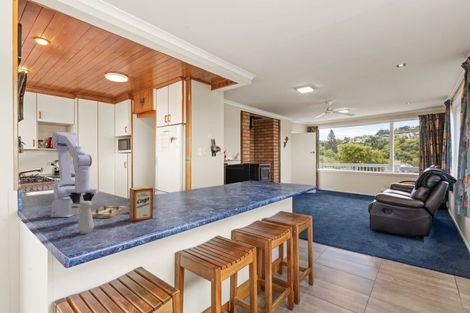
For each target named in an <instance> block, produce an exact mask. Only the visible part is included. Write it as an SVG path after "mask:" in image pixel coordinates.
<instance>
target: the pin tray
mask: <svg viewBox="0 0 470 313" xmlns="http://www.w3.org/2000/svg"><path fill="white" fill-rule="evenodd" d="M126 211H128V206H127V205H126V206H123V205H122V206H121V205H119V206H118V205H116V206H115V205H104V206H102V207H99V208H96V209H93V210H91V213H92V218H95V219H111V218H113V217H114V218H115V216H118V215H120V214H122V213H124V212H126Z"/></svg>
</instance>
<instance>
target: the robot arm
mask: <svg viewBox="0 0 470 313" xmlns="http://www.w3.org/2000/svg"><path fill="white" fill-rule="evenodd" d="M78 140H79V139H78V135H77V133H76V132H68V131H67V132H65V131H54V132H52V135H51V142H52V149H54V150H56V151H57V161H58V169H59V170H58V171H59V172H58V173H59V181H57V182H56V183H54V186H53V197H54V199H53V200H52V202H51V215H50V217H51V218H69V217H72V216H74V215H71V203H75V202H78V201H81V196H82V199H83V200H84V201H91V200H92V201H93V198H94V196H95V195H96V194H99V189H95V188H90V167H91V166H92V163H93V158H92V156H91V154H88V153H86V152H85V151H84V149H83V147H82V146H80V145H78ZM70 156H71V158H72V166H73V171H74V179H73V178H72V172H71V162H70V161H71V160H70Z"/></svg>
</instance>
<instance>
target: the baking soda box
mask: <svg viewBox="0 0 470 313" xmlns="http://www.w3.org/2000/svg"><path fill="white" fill-rule="evenodd" d="M128 201H129V203H128V204H129V206H128V207H129V208H128V209H129V214H128V215H129V218H128V219H129V220H130V221H131V222H132V223H133V222H141V221H146V220H151V219H153V218H154V216H153V214H154V188H153V187H151V186H140V187H139V186H138V187H130V188H129V200H128Z"/></svg>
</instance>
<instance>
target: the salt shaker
mask: <svg viewBox="0 0 470 313" xmlns="http://www.w3.org/2000/svg"><path fill="white" fill-rule="evenodd" d="M91 206H92V207H93V201H92V202H91V201H83V202H81V203H80V207H81V208H82V209H81V213H80V215H79V220H78V224H77V231H78V233H79V234H80V235H86V234H87V235H88V234H90V233H92V232H93V230H94V229H95V228H94V227H95V224H94V223H95V222H94V220H93V218H92V213H91V211H92V210H91V208H90V207H91Z"/></svg>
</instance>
